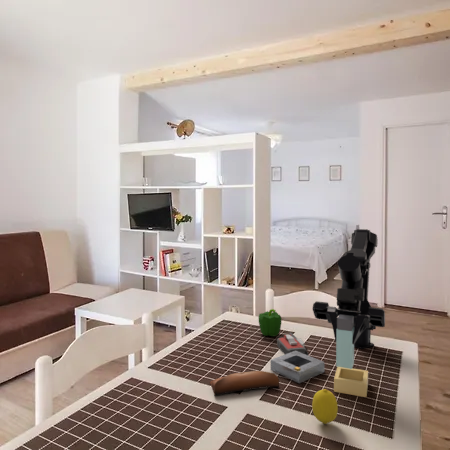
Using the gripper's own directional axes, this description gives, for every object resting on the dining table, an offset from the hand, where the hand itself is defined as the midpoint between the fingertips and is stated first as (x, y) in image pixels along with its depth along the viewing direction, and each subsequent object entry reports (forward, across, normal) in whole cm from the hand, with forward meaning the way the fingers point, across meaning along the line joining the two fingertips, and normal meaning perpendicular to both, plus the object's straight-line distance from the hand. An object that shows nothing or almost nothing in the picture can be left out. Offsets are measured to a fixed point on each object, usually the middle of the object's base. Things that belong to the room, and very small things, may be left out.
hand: (344, 342), depth 102 cm
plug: (+4, 0, +6) cm, 7 cm away
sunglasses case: (+16, -25, +2) cm, 30 cm away
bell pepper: (-12, -32, +31) cm, 46 cm away
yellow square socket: (+8, +2, +10) cm, 13 cm away
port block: (+5, -14, +12) cm, 20 cm away
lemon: (+22, -1, -4) cm, 23 cm away
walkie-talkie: (-6, -21, +25) cm, 33 cm away
